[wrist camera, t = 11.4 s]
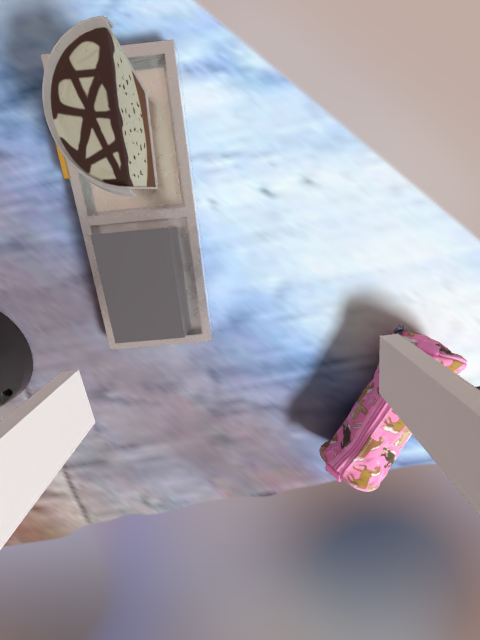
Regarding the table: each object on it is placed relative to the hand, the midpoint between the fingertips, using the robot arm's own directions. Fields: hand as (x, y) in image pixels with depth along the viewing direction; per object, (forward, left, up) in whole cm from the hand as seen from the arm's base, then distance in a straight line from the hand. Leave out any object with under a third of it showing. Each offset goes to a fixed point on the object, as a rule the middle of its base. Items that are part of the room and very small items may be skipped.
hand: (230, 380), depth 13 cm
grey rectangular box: (-10, +1, -25) cm, 27 cm away
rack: (-10, +8, -26) cm, 29 cm away
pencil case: (+18, -18, -27) cm, 37 cm away
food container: (-11, +16, -25) cm, 32 cm away
